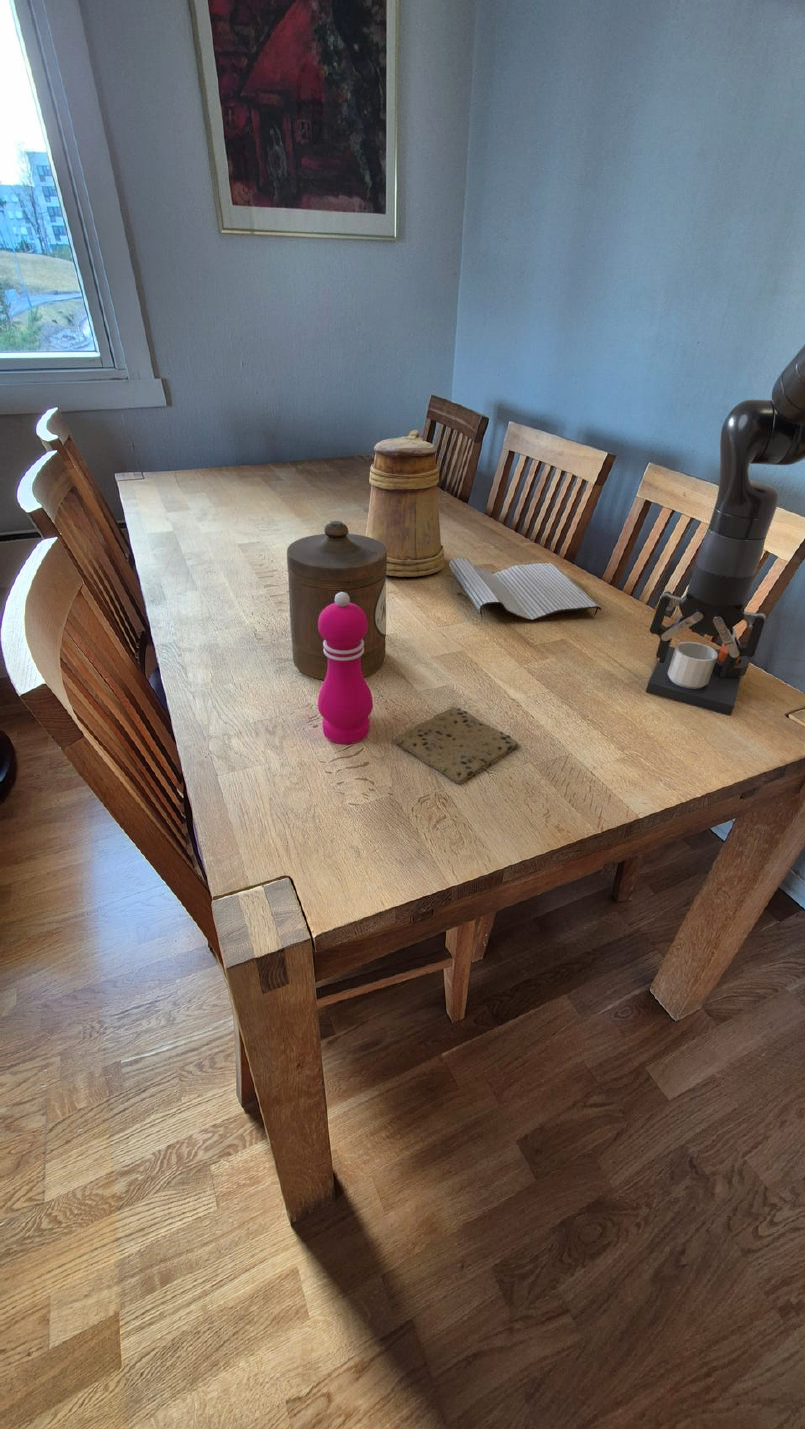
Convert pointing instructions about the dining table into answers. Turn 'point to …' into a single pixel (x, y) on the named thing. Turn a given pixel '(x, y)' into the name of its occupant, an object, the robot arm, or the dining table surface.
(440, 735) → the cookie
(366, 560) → the wooden container
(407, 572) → the tankard
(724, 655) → the button
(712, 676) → the scale
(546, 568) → the mat
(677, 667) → the white cup
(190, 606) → the dining table surface
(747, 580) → the robot arm
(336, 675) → the pepper mill
